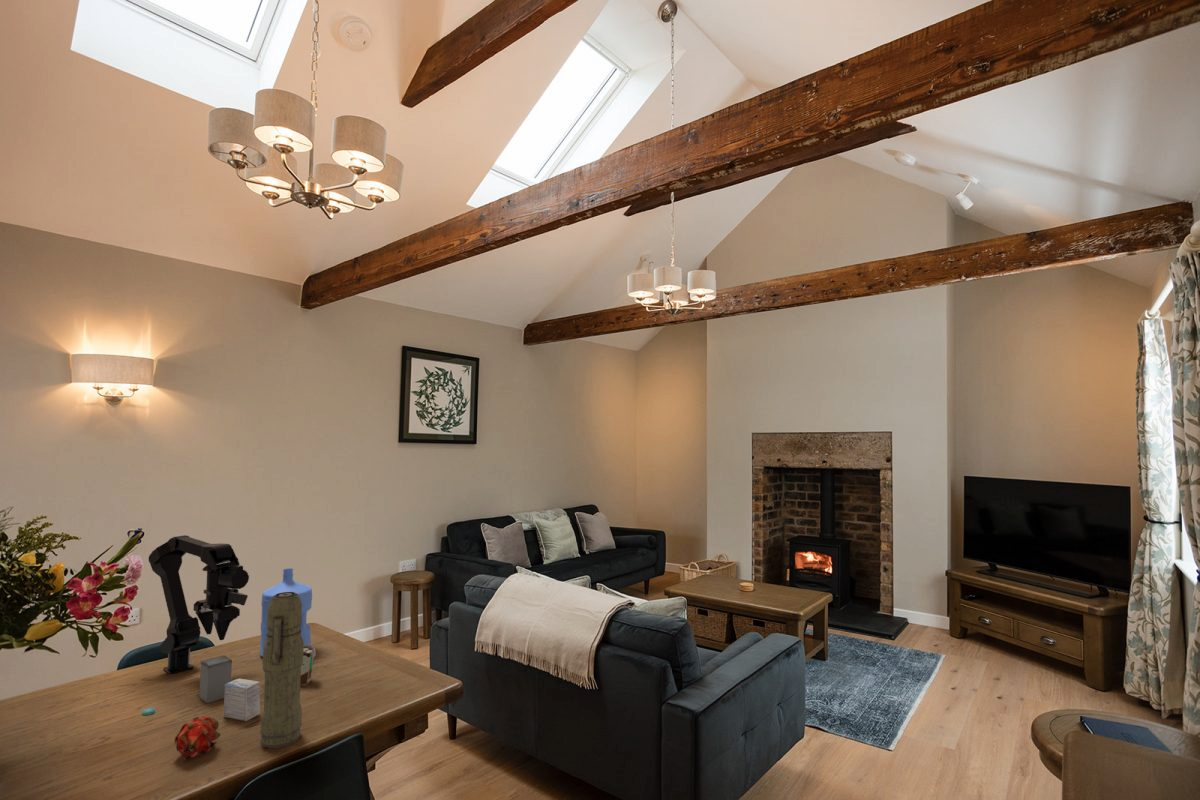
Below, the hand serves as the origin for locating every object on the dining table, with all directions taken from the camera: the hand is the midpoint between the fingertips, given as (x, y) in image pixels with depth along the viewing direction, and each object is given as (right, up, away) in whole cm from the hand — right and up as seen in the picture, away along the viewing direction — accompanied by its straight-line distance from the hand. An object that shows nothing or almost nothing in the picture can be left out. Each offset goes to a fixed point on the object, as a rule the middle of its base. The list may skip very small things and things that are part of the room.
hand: (215, 637), depth 188 cm
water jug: (+11, -14, +21) cm, 27 cm away
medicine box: (+24, -11, -27) cm, 38 cm away
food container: (+28, -12, -4) cm, 30 cm away
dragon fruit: (+25, -10, -46) cm, 53 cm away
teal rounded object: (-2, -11, -25) cm, 28 cm away
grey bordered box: (+9, -11, -15) cm, 21 cm away
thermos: (+41, -10, -39) cm, 58 cm away
